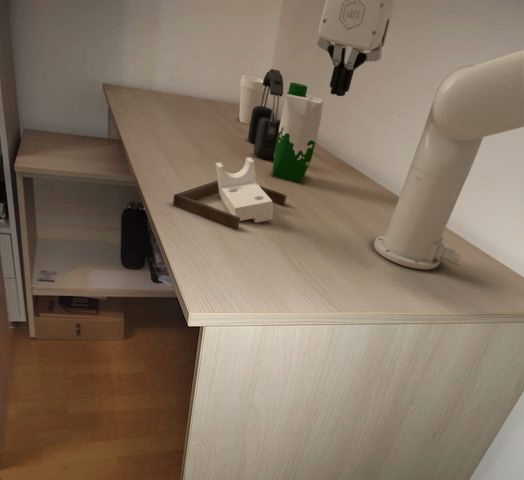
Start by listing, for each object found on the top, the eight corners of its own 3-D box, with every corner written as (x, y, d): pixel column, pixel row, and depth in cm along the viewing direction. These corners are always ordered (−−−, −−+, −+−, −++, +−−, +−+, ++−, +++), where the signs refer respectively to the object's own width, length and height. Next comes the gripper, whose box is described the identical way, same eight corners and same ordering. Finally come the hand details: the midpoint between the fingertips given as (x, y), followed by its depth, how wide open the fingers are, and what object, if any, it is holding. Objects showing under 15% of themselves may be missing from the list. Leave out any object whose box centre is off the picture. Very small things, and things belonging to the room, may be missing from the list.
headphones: (278, 162, 130) (295, 78, 118) (254, 158, 128) (269, 73, 117) (266, 141, 147) (280, 66, 136) (246, 138, 146) (258, 62, 135)
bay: (284, 204, 103) (286, 195, 102) (235, 229, 86) (237, 218, 85) (229, 184, 107) (231, 175, 105) (173, 205, 90) (173, 194, 89)
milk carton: (274, 167, 125) (291, 80, 114) (308, 176, 124) (329, 89, 113) (267, 175, 118) (285, 83, 106) (303, 185, 117) (325, 93, 106)
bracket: (219, 200, 100) (215, 163, 95) (253, 194, 101) (250, 157, 96) (236, 226, 90) (232, 186, 85) (273, 219, 92) (271, 179, 87)
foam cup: (230, 117, 167) (236, 74, 160) (255, 120, 171) (262, 78, 164) (241, 124, 161) (248, 80, 153) (266, 127, 165) (274, 84, 157)
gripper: (317, -56, 71) (289, 84, 82) (415, -37, 67) (372, 107, 78) (334, -46, 77) (306, 83, 88) (425, -28, 73) (384, 105, 84)
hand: (337, 94), depth 83 cm, fingers closed
